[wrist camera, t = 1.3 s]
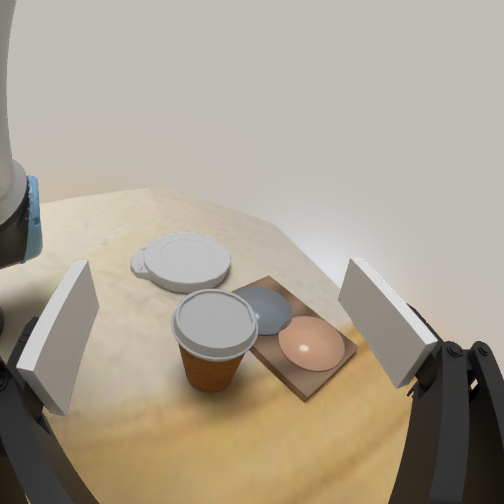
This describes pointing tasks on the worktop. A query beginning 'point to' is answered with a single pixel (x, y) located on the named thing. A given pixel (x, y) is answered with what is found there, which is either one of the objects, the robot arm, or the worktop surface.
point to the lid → (182, 262)
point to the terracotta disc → (311, 344)
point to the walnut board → (275, 360)
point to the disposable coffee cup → (213, 336)
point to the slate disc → (267, 309)
